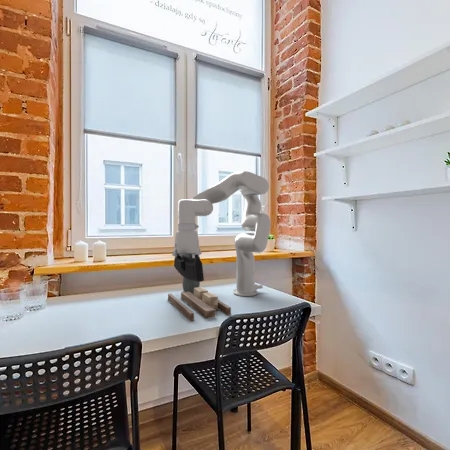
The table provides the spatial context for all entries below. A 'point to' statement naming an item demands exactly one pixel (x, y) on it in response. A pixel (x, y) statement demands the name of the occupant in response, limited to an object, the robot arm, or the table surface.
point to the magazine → (190, 268)
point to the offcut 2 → (210, 300)
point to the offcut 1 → (199, 292)
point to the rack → (196, 306)
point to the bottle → (190, 283)
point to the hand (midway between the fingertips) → (187, 269)
